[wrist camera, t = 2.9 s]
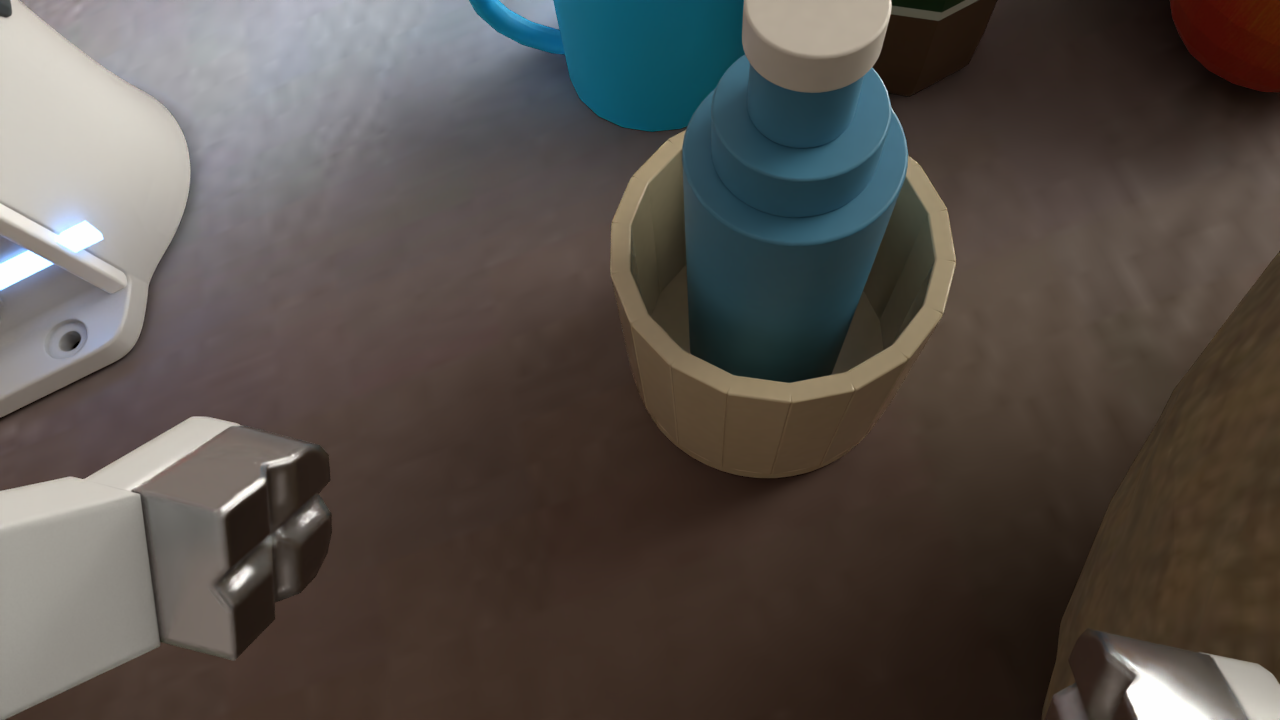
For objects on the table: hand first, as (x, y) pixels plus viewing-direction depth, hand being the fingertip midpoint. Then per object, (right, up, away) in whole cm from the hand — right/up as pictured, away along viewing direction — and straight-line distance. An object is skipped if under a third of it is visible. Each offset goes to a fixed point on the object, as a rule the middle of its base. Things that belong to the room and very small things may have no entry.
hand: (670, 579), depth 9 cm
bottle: (+4, +3, +22) cm, 22 cm away
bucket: (+4, +3, +22) cm, 23 cm away
